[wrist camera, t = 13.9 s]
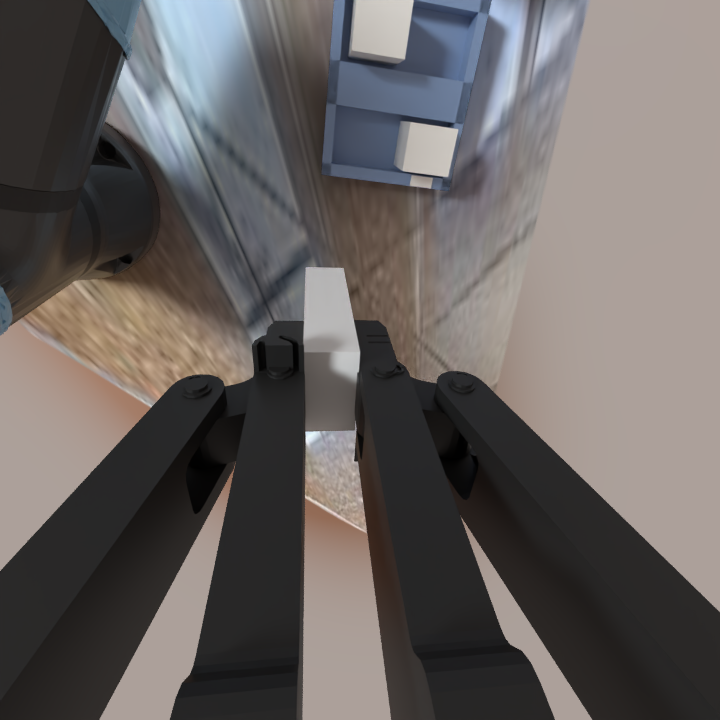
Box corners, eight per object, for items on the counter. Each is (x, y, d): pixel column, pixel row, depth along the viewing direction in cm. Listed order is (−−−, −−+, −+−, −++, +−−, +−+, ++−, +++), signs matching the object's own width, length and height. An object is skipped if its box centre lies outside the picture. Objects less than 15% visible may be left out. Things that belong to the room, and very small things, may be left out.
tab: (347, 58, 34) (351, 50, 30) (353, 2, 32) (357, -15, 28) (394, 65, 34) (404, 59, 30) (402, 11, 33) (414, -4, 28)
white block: (393, 164, 38) (402, 171, 34) (400, 120, 37) (410, 122, 32) (434, 170, 39) (447, 177, 35) (442, 127, 37) (458, 129, 33)
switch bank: (321, 170, 39) (321, 174, 36) (335, -22, 32) (336, -35, 29) (440, 185, 41) (449, 191, 38) (478, 6, 34) (493, -4, 31)
